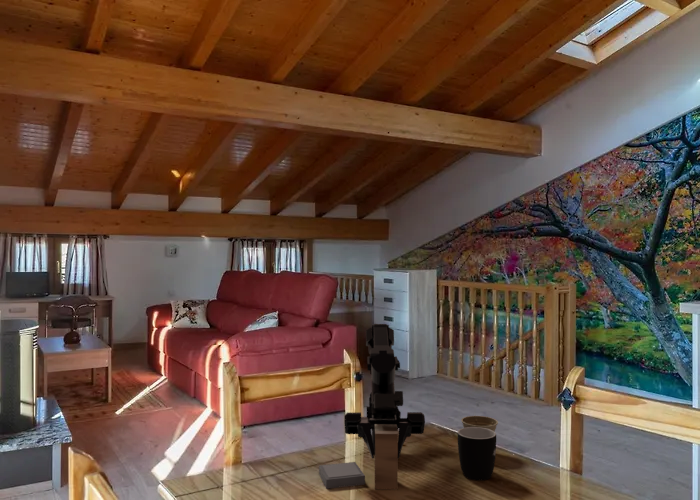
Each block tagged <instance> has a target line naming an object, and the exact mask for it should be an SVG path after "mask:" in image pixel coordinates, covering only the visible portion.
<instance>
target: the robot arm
mask: <svg viewBox="0 0 700 500" xmlns="http://www.w3.org/2000/svg"><path fill="white" fill-rule="evenodd" d="M394 345H395V331H394V329H393V328H391V327H390V325H389V324H387V323H373V324H371V327H369V328H367V329H366V330H365V346H366V347H368V354H369V356H367V361H366V362H367V363H366V364H367V371H370V372H369V374H370V375H371V376H370V377H371V382H370V383H371V388H370V389H371V392H370V394H369V398H368V406H367V405H366V416H362V412H346V413H345V414H344V422H343V423H344V434H347V435H357V437H358V438H362V439H363V441H364V443H365V444H366V447H367V450H368V451H369V454H370V456H371V459H374V460H375V424H397V429H398V459H400V456H401V453H402V450H403V446H404V443H405V442H406V439H407V438H410V437H411V436H412V435H422V434H424V432H425V425H426V417H425V414H424V413H423V412H422V411H412V412H411V411H410V412H408V411H407V413H406V414H407V415H406V417H401V415H402V413H401V412H402V411H401V410H400V409H399V407H403V406H404V393H403V392H404V391H403V390H395V378H396V371H399V369H401V362H400V360H399V359H398V357H397V356H395V351H394V349H393V348H392V347H393V346H394Z"/></svg>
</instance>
